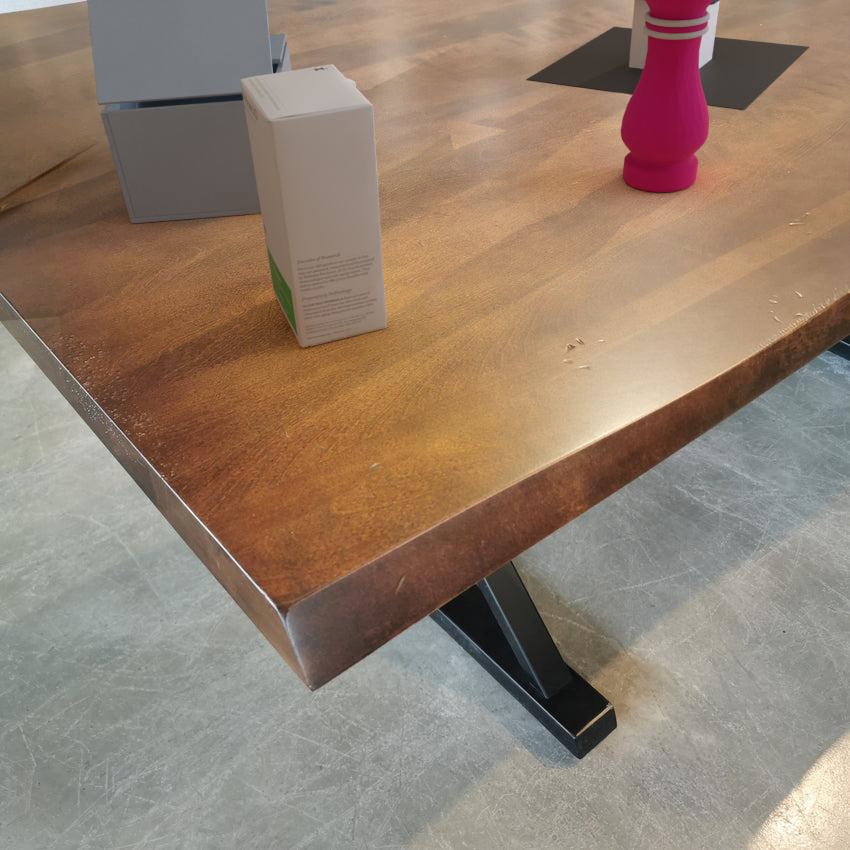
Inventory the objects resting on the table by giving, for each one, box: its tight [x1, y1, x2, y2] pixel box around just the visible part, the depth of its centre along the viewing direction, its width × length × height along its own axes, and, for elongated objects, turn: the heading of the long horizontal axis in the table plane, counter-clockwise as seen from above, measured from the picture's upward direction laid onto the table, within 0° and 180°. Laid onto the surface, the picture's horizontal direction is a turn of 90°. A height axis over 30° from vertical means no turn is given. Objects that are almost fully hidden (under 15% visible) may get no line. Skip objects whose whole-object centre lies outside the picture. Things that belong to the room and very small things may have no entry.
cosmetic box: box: [240, 63, 388, 349], centre depth 58 cm, size 8×7×16 cm
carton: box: [100, 33, 293, 224], centre depth 80 cm, size 17×14×10 cm
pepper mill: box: [620, 0, 713, 193], centre depth 71 cm, size 7×7×20 cm
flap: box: [86, 0, 273, 106], centre depth 70 cm, size 8×14×1 cm
